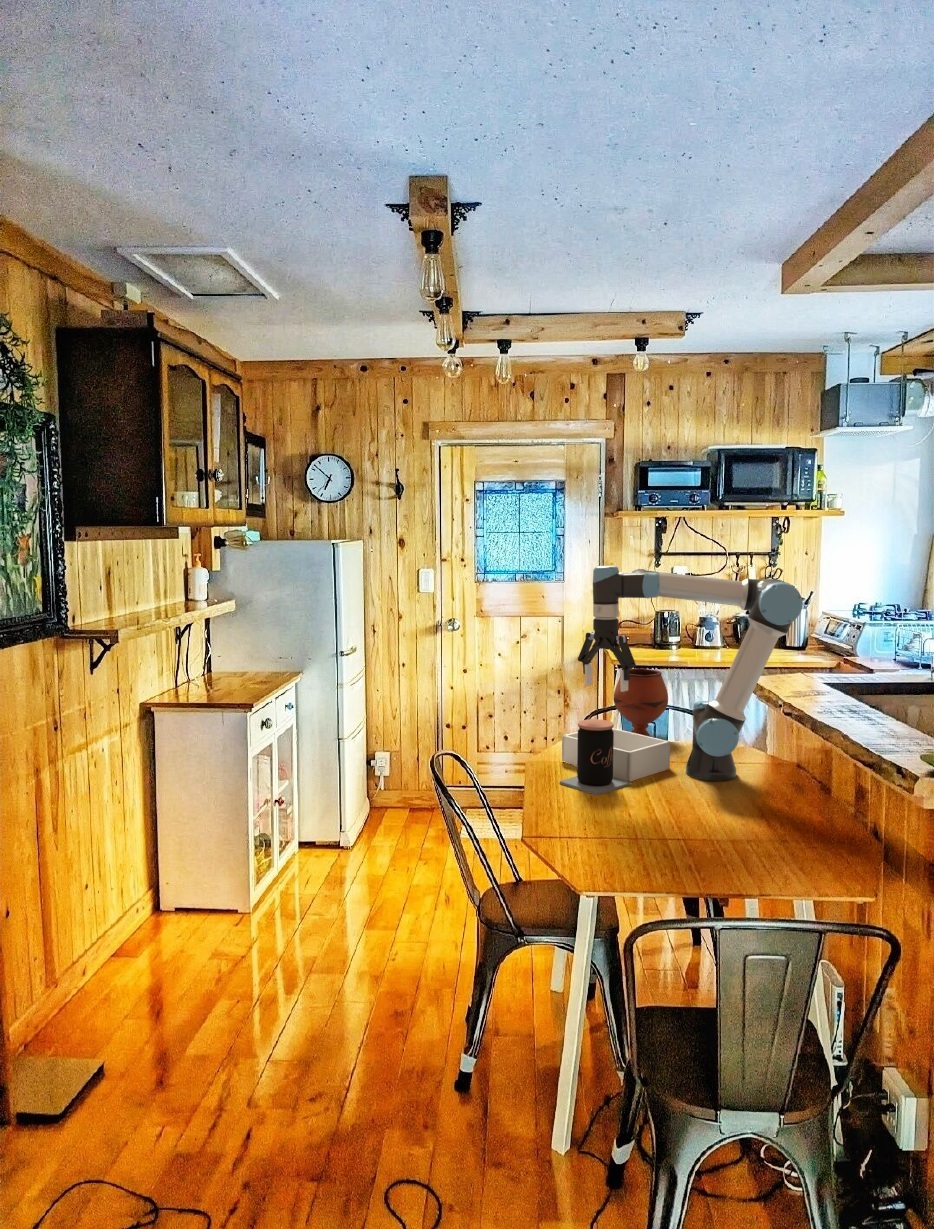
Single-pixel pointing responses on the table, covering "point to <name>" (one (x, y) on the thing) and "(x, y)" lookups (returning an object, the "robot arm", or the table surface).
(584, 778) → the coffee jar
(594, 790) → the mat
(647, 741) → the crate
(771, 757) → the table surface
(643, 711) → the goblet
